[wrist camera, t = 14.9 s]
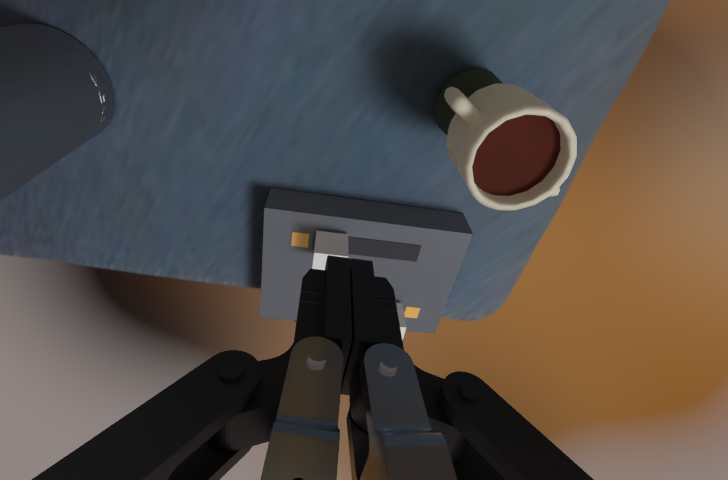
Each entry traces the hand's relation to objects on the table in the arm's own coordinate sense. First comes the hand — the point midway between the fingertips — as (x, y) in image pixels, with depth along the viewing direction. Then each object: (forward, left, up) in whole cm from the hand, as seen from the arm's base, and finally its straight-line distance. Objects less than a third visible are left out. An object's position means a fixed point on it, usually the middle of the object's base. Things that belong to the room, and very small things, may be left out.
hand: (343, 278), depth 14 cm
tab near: (+1, -14, -21) cm, 25 cm away
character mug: (+11, 0, -26) cm, 28 cm away
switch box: (+4, -18, -26) cm, 32 cm away
